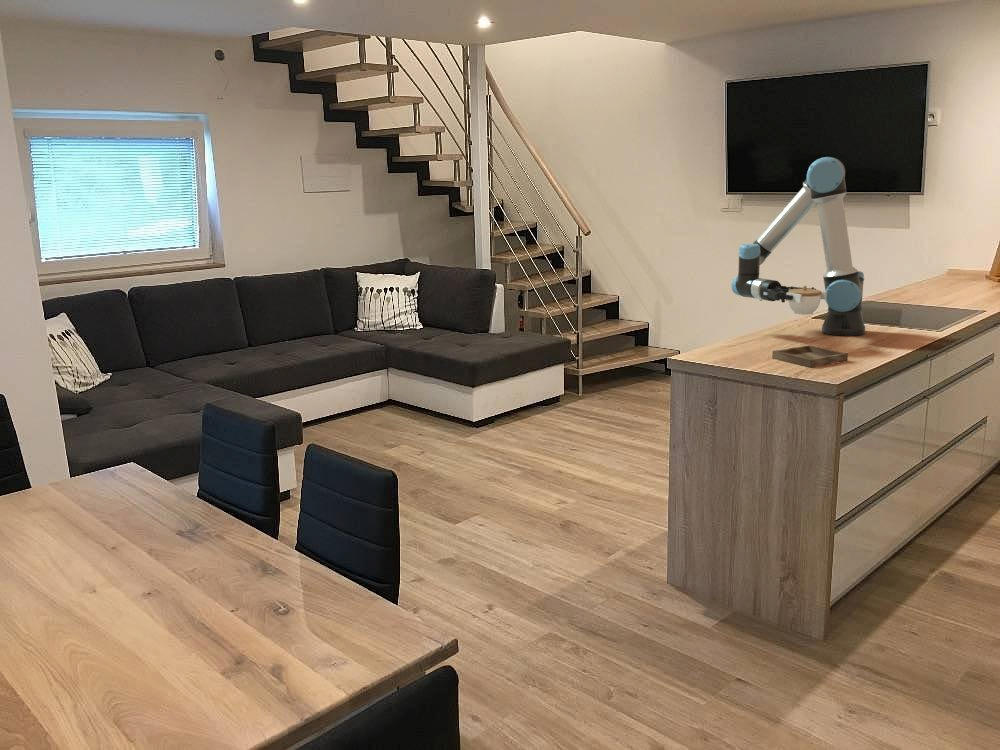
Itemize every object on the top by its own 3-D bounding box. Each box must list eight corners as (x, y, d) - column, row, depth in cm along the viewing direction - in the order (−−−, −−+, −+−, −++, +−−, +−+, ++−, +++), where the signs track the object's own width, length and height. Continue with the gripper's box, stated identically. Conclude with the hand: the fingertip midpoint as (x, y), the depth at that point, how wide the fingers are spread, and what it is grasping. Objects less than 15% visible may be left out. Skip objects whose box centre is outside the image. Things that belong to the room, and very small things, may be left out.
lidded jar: (822, 315, 296) (823, 288, 294) (789, 315, 298) (790, 288, 296) (817, 310, 306) (819, 283, 304) (785, 310, 308) (786, 283, 306)
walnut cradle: (808, 352, 296) (809, 345, 295) (847, 361, 282) (848, 353, 281) (772, 358, 289) (772, 350, 288) (810, 367, 275) (810, 360, 274)
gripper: (790, 297, 322) (837, 304, 303) (741, 303, 312) (787, 311, 293) (791, 276, 320) (838, 283, 301) (742, 282, 310) (788, 289, 291)
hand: (813, 297), depth 297 cm, fingers closed on lidded jar, 11 cm apart
